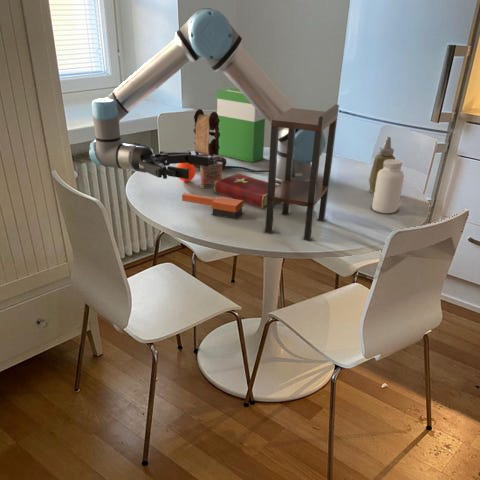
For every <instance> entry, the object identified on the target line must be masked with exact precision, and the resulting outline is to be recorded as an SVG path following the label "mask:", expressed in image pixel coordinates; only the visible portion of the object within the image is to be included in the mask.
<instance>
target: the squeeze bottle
mask: <svg viewBox="0 0 480 480" xmlns="http://www.w3.org/2000/svg"><path fill="white" fill-rule="evenodd" d="M394 151H395V149H394V148H392V138H391V136H387V137H386V139H385V141H384V144H383V146H382V147H379V149H378V153H377V154H376V155H375V156H374V160H373V163H372V166H371V169H370V170H371V171H370V174H369V178H368V184H369V190H370V192H371V193H373V194H374V192H375V186H376V180H377V174H378V172H379V171H380V170H381V169H383V164H384V161H385V160H387V159H395V160H396V157H395V156H394V153H395V152H394Z"/></svg>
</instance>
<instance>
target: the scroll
mask: <svg viewBox="0 0 480 480" xmlns="http://www.w3.org/2000/svg"><path fill="white" fill-rule="evenodd" d="M193 121H194V128H193V133H194V135H195V136H194V143H193V144H194V148H195V150H194V153H195V154H194V155H198V156H205V157H208V156H212V157H213V156H218V155H219V153H218V152H219V151H218V150H219V148H220V147H219V140H218V139H219V137H220V133H219V132H218V131H219V127H218V125H219V124H218V123H219V122H220V120H219V118H218V114H217V111H212V112H211V113H210V114H209V115H206V114H205V113H204V111H203V110H202V109H201V108H199V109H197V110H196V111H195V113H194V115H193ZM210 136H211V137H214V138H213V139H212V140H211V141H210V142H209V140H210ZM219 156H220V157H221V160H217V162H222V167H223V166H227V158H225V156H223V155H219ZM214 162H215V160H214ZM194 167H195V169H201V167H200V165H194Z"/></svg>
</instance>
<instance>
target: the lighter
mask: <svg viewBox="0 0 480 480" xmlns="http://www.w3.org/2000/svg"><path fill="white" fill-rule="evenodd" d="M220 156H221V155H220ZM220 156H219V155H218V156H213V157H212V156H208V157H209V166H208V167H207V166H200V167H201V168H200V188H202V189H211V188H214V183H215V181H216V180H219V179H222V178H223V168H222V162H217V160H221V157H220ZM214 160H215V162H214Z"/></svg>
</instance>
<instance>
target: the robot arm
mask: <svg viewBox="0 0 480 480" xmlns="http://www.w3.org/2000/svg"><path fill="white" fill-rule="evenodd" d="M243 43H244V42H243V38H242V36H241V35H240V34H239V33H238V32H237V30H236V29H235V28H234V27H233V26H232V25H231V23H230V21H229V20H228V18H227V17H226V16H225V15H224V14H223V13H222V12H221V11H218V10H217V9H213V8H210V7H202V8H199V9H197V10H196V11H194V13H193V14H192V15H191V16H190V17H189V19H188V20H187V21H186V22H185V23H184V24H183V25H182V26H181V27H180V28H179V29H178V30H177V31H176V32H175V35H174V38H173V39H172V40H171V41H170V42H168V43H167V44H166V45H165V46H164V47H163V48H162V49H160V51H158V52H157V53H156V54H155V55H153V57H151V58H150V59H149V60H148V61H147V62H145V63H144V64H143V65H142V66H141V67H139V69H137V71H135V72H134V73H133V74H132V75H130V76H129V77H128V78H127V79H126V80H125V81H123V82H122V83H121V84H120V85H119V86H118V87H116V88H115V89H114V90H113V91H112V92H111V93H109V94H108V95H107V96H105V97H104V98H97V99H93V100H92V102H91V115H92V120H93V128H94V136H95V139H94V140H93V141H91V142H90V145H89V151H88V155H89V159H90V160H91V162H92V163H93V164H95V165H98V166H102V167H105V168H114V169H119V170H120V169H121V170H128V172H132V171H134V172H138V173H139V172H140V173H145V174H146V173H147V174H149V175H152V176H154V177H157V178H162V179H164V180H166V179H168V177H173V178H178V179H179V178H184V179H189V169H186V168H180V167H177V166H174V165H176V164H179V163H189V164H193V165H200V166H207V167H208V166H209V157H205V156H198V155H195V154H192V152H191V151H190V150H188V151H162V150H161V151H159V152H153V151H152V149H151V147H149V146H143V145H137V144H131V143H122V141H121V132H120V131H121V130H120V129H121V128H120V122H121V120H122V119H123V118H124V117H126V116H127V115H128V114H130V112H131V111H132V110H133V109H135V108H136V107H137V106H138V105H139V104H141V103H142V102H143V101H144V100H146V99H147V98H148V97H149V96H150V95H152V93H154V92H155V91H156V90H157V89H159V88H160V87H161V86H162V85H164V84H165V83H166V82H167V81H168V80H170V79H171V78H172V77H173V76H174V75H176V74H177V73H178V72H180V70H182V69H183V68H184V67H185V66H186V65H187V64H189V63H190V62H193V63H195V62H197V61H198V60H199V59H200V58H202V60H204V61H205V62H206V64H207V65H208V66H209V67H210V68H211V69H212V70H213V71H214V72H216V73H217V72H219V73H220V72H221V73H223V74H224V75H225V76H226V78H228V80H229V81H230V82H231V83H232V84H233V86H235V87H236V89H239V90H240V92H241V93H242V94H243V95H244V96H245V97H246V98H247V99H248V100H249V101H250V103H251V104H252V105H253V106H254V107H255V108H256V109H257V110H258V111H259V112H260V113H261V115H262V116H263V117H264V118H265V121H267V122H268V124H269V125H271V122H272V119H274V118H276V117H278V116H279V115H281V114H283V113H284V112H286V111H288V110H290V109H291V108H295V106H293V104H292V103H291V102H290V101H289V100H288V99H287V97H286V96H285V95H284V94H283V93H282V91H280V89H279V88H278V87H277V86H276V84H274V82H273V81H272V80H271V79H270V78H269V77H268V75H267V74H266V73H265V72H264V70H263V69H262V68H261V67H260V66H259V65H258V64H257V63H256V61H255V60H254V59H253V58H252V57H251V55H249V53H248V52H247V51H246V49H244V47H243V46H244V45H243ZM288 131H289V128H283V127H279V135H278V150H277V166H276V181H275V183H278V184H281V183H282V182H283V181H284V180H285V171H286V158H287V145H288ZM314 136H315V131H309V130H300V129H296V130H295V142H294V155H293V167H292V179H294V180H300V181H307V182H310V174H311V165H312V155H313V145H314ZM326 144H327V143H326V136H325V134H324V132H323V133H322V142H321V151H320V156H322V154H323V153H324V151H325V148H326ZM222 169H240V170H246V171H248V172H253V173H269V169H251V168H248V167H244V166H237V165H225V166H223V167H222Z"/></svg>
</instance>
